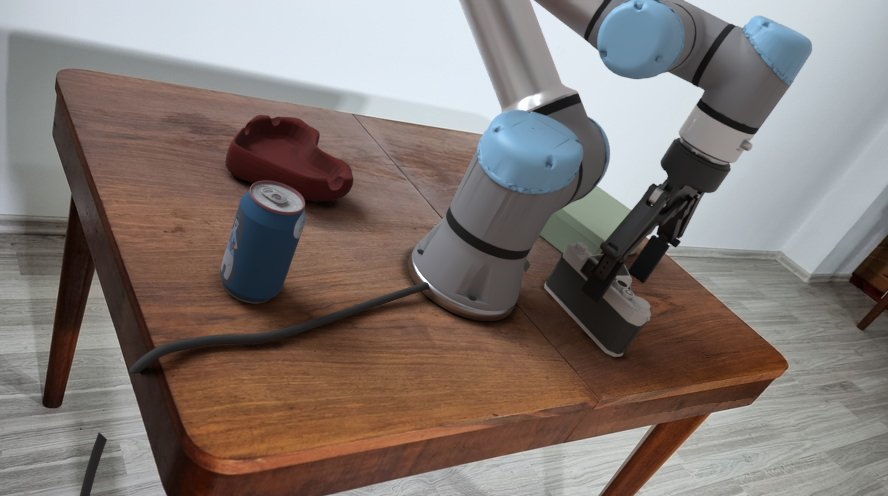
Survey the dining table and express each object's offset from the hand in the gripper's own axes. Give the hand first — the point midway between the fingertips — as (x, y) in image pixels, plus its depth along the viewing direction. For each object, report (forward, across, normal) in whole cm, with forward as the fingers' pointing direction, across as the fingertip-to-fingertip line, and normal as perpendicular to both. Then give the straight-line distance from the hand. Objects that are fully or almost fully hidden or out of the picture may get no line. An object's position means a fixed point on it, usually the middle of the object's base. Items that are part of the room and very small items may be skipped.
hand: (614, 286), depth 97 cm
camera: (+6, 0, 0) cm, 6 cm away
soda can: (+6, -45, +21) cm, 50 cm away
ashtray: (+6, -27, +41) cm, 49 cm away
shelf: (+6, +20, +15) cm, 26 cm away
